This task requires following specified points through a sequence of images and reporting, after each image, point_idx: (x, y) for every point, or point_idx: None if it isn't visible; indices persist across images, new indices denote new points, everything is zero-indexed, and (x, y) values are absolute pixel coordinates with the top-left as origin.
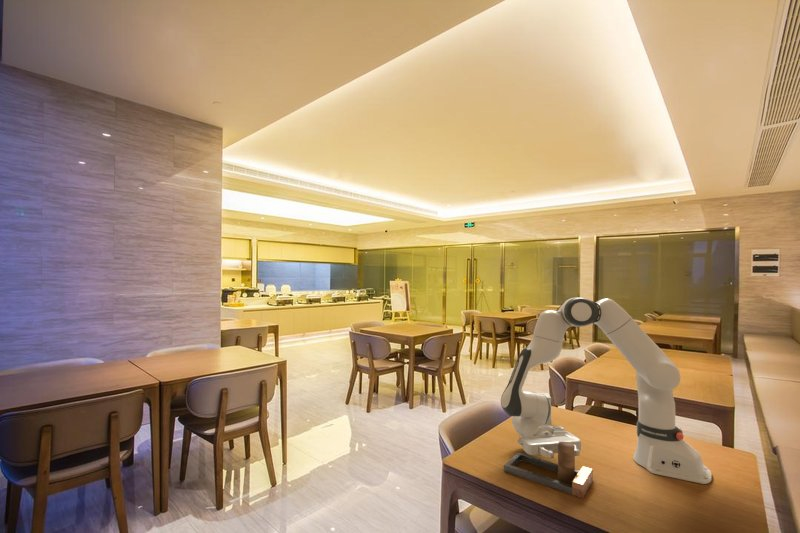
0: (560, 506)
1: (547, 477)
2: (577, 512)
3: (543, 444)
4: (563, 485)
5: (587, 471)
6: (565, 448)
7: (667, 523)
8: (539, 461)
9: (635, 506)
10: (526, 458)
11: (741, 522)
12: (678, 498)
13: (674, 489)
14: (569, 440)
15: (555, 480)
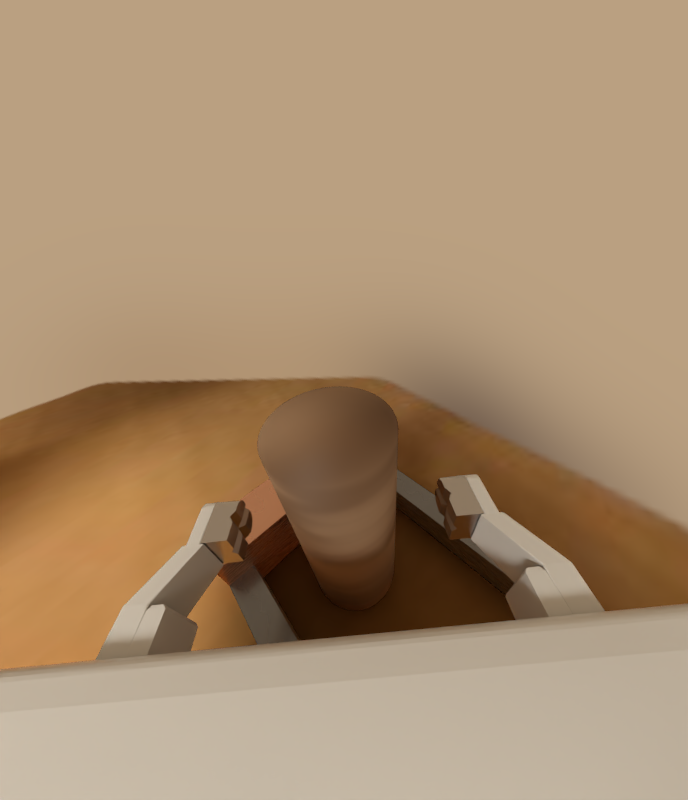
0: (442, 424)
1: (464, 539)
2: (403, 406)
3: (545, 623)
4: (403, 474)
5: (248, 506)
6: (365, 393)
7: (237, 384)
8: None
9: (238, 422)
10: None
11: (110, 388)
12: (93, 445)
13: (28, 482)
14: (71, 723)
15: (427, 509)
